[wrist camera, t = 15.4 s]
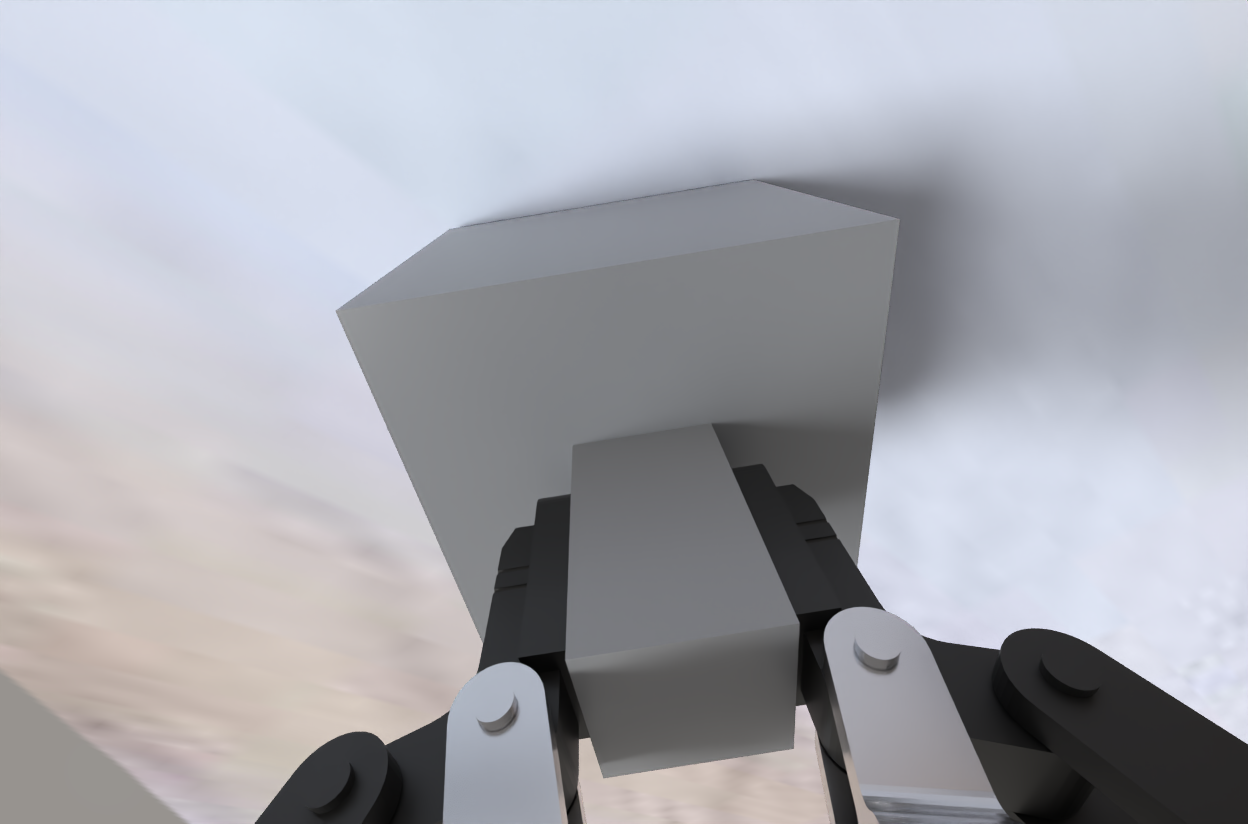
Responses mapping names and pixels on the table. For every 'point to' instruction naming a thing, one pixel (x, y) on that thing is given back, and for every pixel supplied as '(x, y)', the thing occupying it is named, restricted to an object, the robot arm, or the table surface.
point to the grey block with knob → (643, 432)
